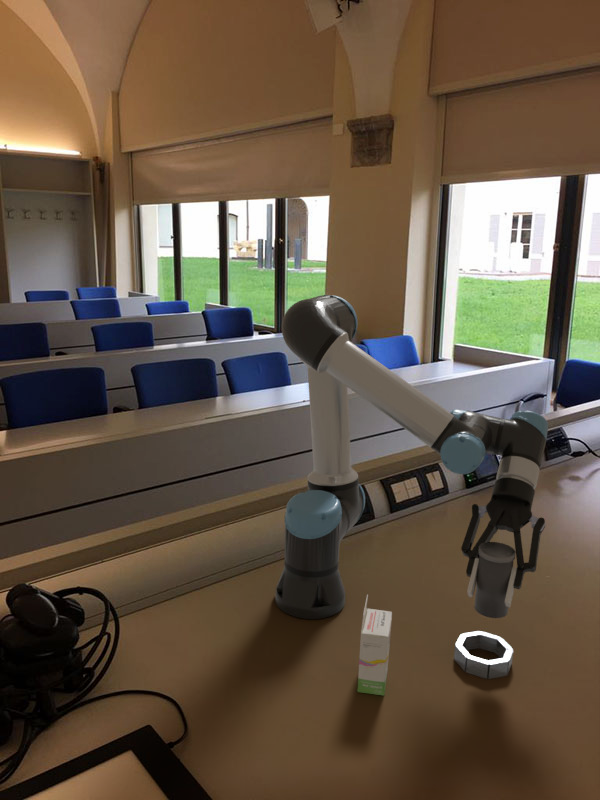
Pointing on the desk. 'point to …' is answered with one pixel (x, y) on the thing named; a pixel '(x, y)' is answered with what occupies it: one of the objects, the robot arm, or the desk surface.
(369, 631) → the ink box
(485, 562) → the tube
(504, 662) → the collar
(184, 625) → the desk surface
